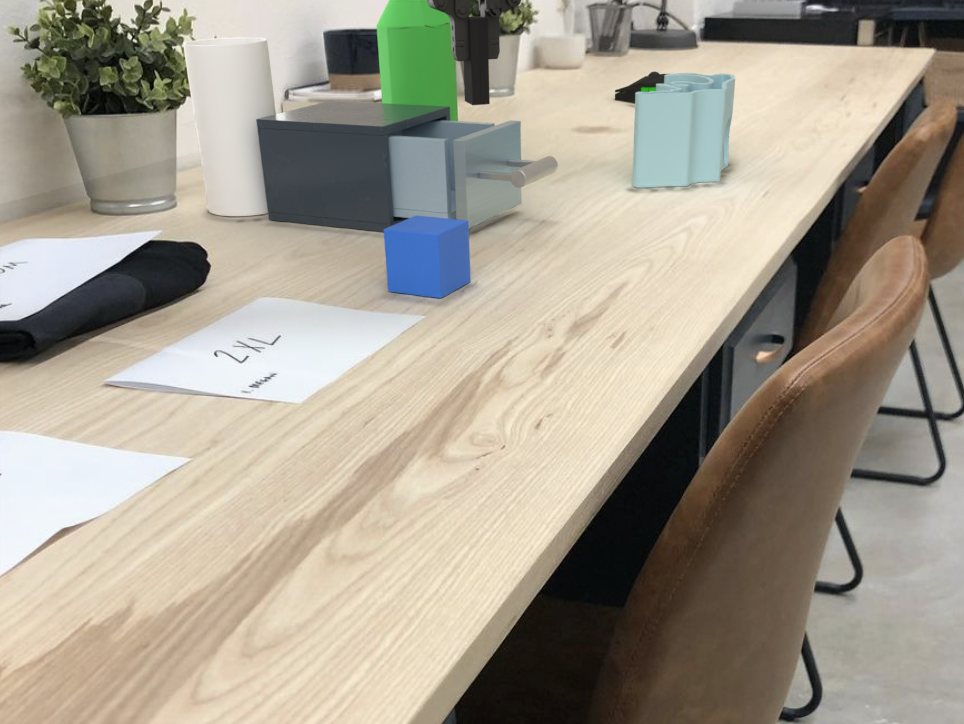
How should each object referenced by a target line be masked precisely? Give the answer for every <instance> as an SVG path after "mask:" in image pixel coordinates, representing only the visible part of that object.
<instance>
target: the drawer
mask: <svg viewBox="0 0 964 724" xmlns="http://www.w3.org/2000/svg"><path fill="white" fill-rule="evenodd" d="M521 124H522V123H521V120H513V119H512V120H511V119H510V120H507V121H504V122H501V123H499V124H496V125H495V122H484V121H483V122H482V121H481V122H480V121H464V120H458V121H448V120H432V121H429V122H426V123H422V124H419V125H416V126H413V127H410V128H406V129H403V130H400V131H397V132H393V133H390V134H387V135H388V146H389V160H390V174H391V189H392V203H393V217H403V218H411V217H414V216H426V217H437V218H447V219H458V220H467V221H468V223H469V229H472V228H473V227H475V226H478V225H479V224H482V223H484V222H485V221H488V220H490V219H492V218H494V217H496V216H499V215H500V214H503V213H504V212H505V213H506V212H507V211H508V210H511V209H513V208H515V207H517V206H519V205H522V188H524V187H526V186H528V185H530V184H532V183H534V182H536V181H540V180H541V179H543V178H545V177H548V176H550V175H553V174H554V173H556V171H557V169H558V161H557V159H556V158H555V157H554V156H552V155H548V156H545V157H542V158H540V159H537V160H526V159H522V139H521V138H522V129H521V127H522V125H521Z"/></svg>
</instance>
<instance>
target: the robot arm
mask: <svg viewBox="0 0 964 724" xmlns="http://www.w3.org/2000/svg"><path fill="white" fill-rule="evenodd" d="M470 1H471V0H427V3H428V5H429V6H430V7H431V8H433V9H435V10H438V11H441V12H444V13H446V14H447V15H448V16H449V18H450V22H451V45H452V46H451V47H452V55H453V58H454V60H456V62H463V88H464V89H463V90H464V102H466V103H467V104H469V105H471V106H482V105H490V104H491V103H490V99H491V98H490V70H489V69H490V66H489V64H490V63H489V62H490V61H489V60H498V58H499V55H500V53H501V51H500V50H501V49H500V48H501V47H500V45H501V44H500V17H501V16H502V14H503V13H504V12H506V11H508V10H509V9H512V8H516V7H518V6H519V5H520V4H521V2H522V0H478V10H479V12H480V13H479V14H480V15H476V16H475V15H474V16H469V15H470V13H471V2H470Z"/></svg>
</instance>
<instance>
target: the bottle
mask: <svg viewBox="0 0 964 724" xmlns="http://www.w3.org/2000/svg"><path fill="white" fill-rule="evenodd" d="M376 36H377V49H378V50H377V51H378V63H379V64H378V65H379V77H380V92H381V103H387V104H407V105H428V106H449V107H450V121H459V113H458V112H459V110H458V83H457V82H458V81H457V61H456V60H454V58H453V55H452V47H451V46H452V45H451V22H450V18H449V16H448V15H447V14H446V13H444V12H441V11H438V10H435V9H433V8H431V7H430V6H429V5H428V3H427V0H388V2H387V4H386V6H385V7H384V9H383V11H382V14H381V15H380V17H379V20H378V21H377V23H376Z"/></svg>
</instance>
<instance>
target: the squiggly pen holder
mask: <svg viewBox="0 0 964 724" xmlns="http://www.w3.org/2000/svg"><path fill="white" fill-rule="evenodd" d="M666 74H667V75H664V84H656V91H649V92H636V94H635V103H634V124H633V126H634V127H633V149H632V150H633V151H632V155H633V156H632V174H631V175H632V176H631V177H632V178H631V179H632V180H631V186H632V187H633V188H641V189H644V188H661V187H664V188H665V187H688V186H690V185H692V184H695V183H712V182H713V183H716V182H720V181H721V177H722V171H723V170H724V169H726V168H727V167H728V166H729V159H730V145H729V144H730V130H731V125H732V120H733V119H732V118H733V111H734V100H735V88H736V87H735V86H736V76H735V75H734V74H731V73H715V74H702V73H697V72H676V73H666Z"/></svg>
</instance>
